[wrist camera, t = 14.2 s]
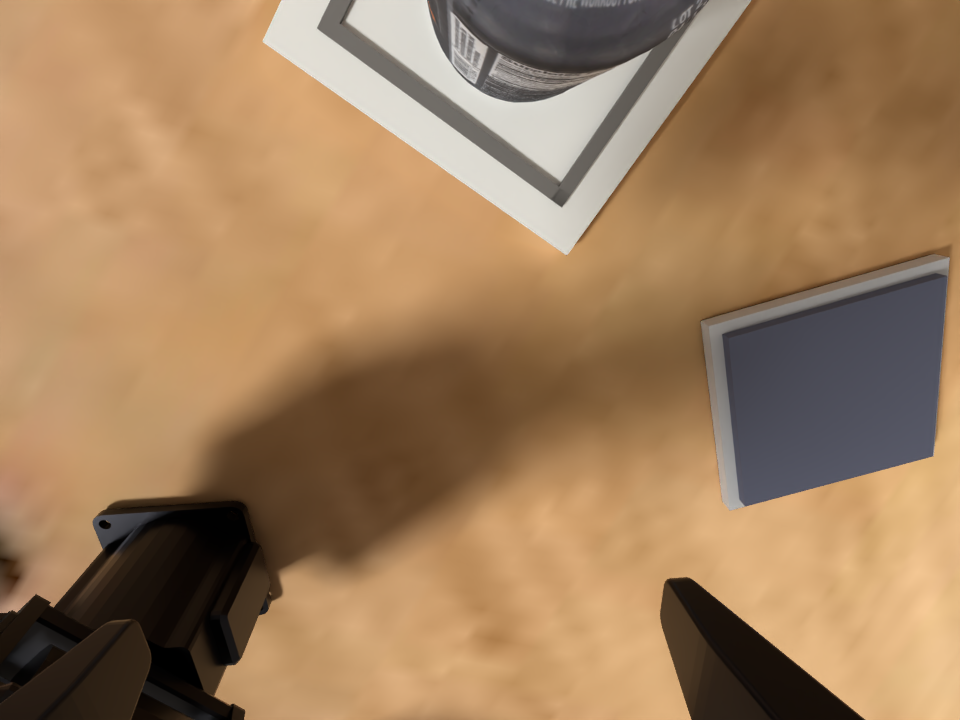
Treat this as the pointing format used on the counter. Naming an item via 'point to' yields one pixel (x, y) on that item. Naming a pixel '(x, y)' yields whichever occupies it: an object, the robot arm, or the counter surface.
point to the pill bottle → (549, 40)
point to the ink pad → (827, 381)
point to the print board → (498, 105)
